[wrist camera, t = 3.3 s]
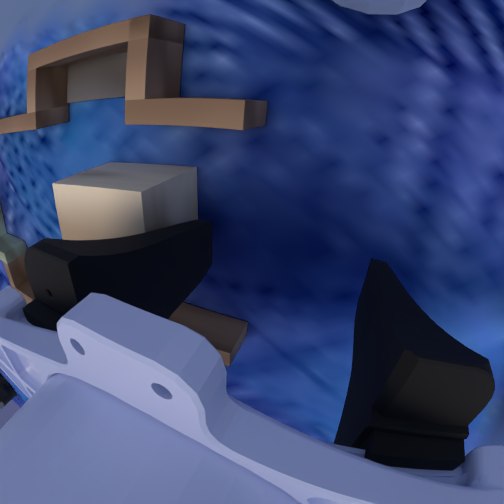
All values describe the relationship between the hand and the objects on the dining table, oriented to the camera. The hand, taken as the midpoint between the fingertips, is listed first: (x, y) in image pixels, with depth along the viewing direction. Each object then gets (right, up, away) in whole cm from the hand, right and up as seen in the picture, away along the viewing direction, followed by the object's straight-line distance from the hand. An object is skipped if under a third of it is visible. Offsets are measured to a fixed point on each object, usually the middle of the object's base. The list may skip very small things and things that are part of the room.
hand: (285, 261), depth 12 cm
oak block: (-6, +2, +3) cm, 8 cm away
